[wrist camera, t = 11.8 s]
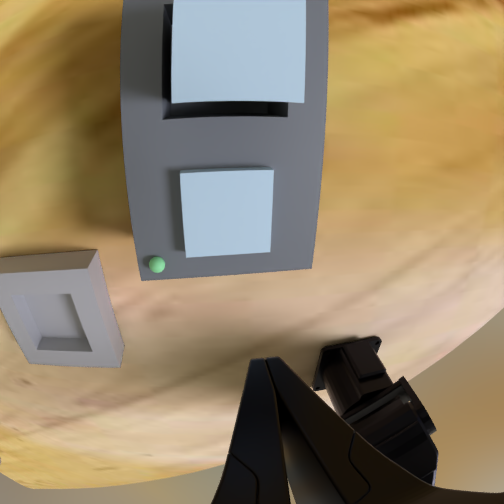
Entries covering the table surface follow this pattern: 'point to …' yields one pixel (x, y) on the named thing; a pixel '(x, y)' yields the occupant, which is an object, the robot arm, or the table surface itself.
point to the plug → (238, 50)
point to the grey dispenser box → (218, 161)
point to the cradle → (60, 309)
